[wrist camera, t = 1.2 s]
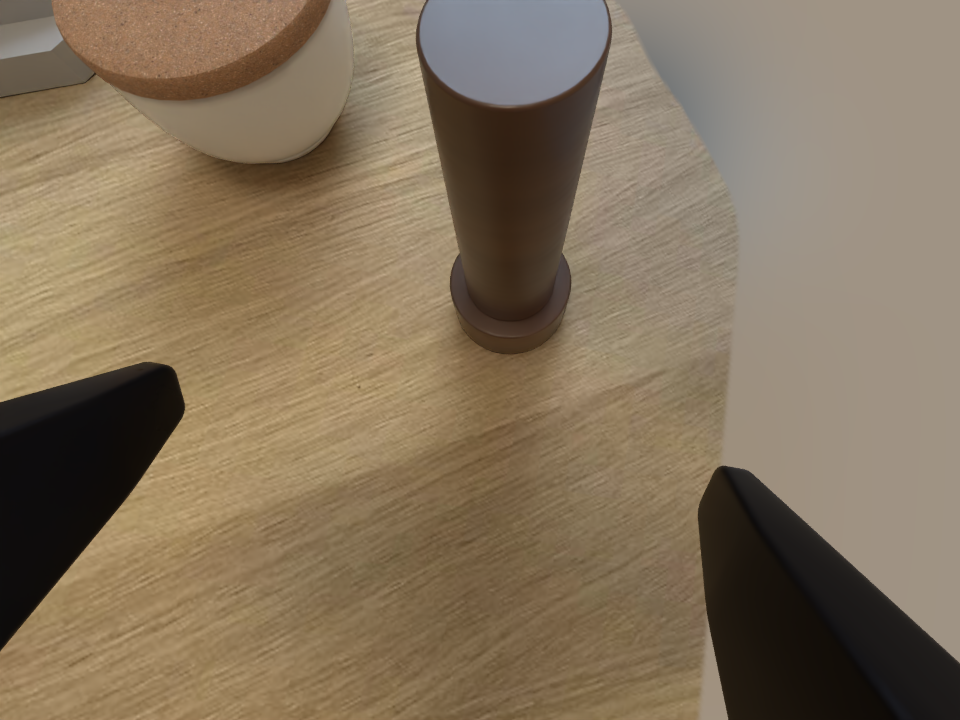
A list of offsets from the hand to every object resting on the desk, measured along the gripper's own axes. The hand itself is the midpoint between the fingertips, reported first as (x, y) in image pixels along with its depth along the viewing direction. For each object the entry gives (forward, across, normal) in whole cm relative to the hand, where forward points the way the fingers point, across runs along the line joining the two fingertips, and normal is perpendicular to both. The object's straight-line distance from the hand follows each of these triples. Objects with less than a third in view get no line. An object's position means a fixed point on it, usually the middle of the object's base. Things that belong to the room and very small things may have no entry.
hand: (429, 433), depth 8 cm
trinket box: (+21, +14, -2) cm, 25 cm away
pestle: (+15, 0, +4) cm, 15 cm away
